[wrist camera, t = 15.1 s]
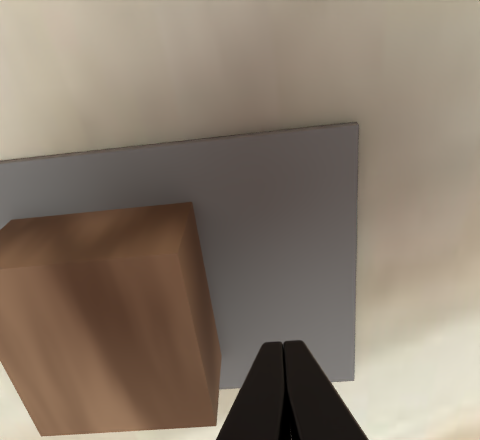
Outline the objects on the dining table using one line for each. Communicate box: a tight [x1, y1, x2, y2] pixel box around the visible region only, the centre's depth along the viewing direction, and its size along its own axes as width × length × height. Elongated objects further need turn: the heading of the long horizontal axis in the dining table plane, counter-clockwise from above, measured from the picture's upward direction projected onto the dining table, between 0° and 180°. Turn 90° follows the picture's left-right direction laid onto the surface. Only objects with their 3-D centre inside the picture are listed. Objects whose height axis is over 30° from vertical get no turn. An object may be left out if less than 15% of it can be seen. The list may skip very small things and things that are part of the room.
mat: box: [0, 122, 359, 389], centre depth 20 cm, size 16×14×1 cm
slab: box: [0, 202, 222, 436], centre depth 18 cm, size 4×9×8 cm
